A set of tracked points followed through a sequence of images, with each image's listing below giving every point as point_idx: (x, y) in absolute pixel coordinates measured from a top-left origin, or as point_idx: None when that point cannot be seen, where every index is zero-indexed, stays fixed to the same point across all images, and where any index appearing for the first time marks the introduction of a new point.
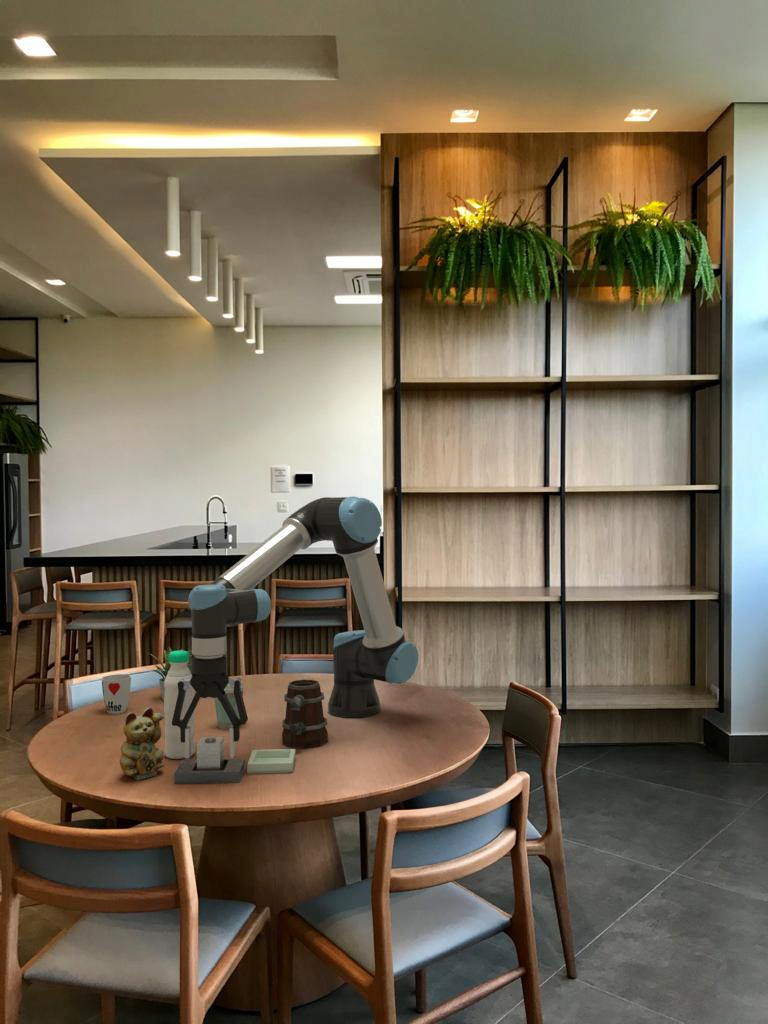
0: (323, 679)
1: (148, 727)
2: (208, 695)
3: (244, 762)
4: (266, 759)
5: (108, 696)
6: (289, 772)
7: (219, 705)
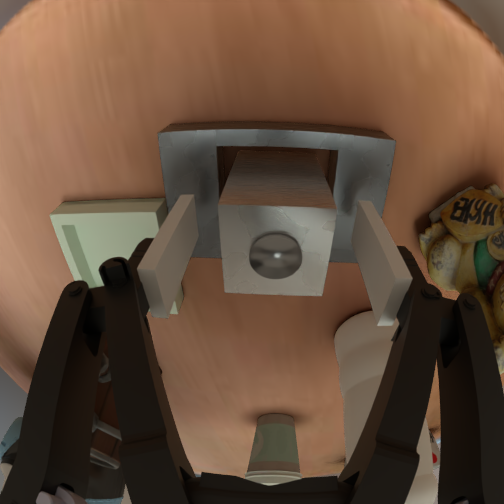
0: (192, 468)
1: None
2: (273, 498)
3: None
4: None
5: (434, 447)
6: (67, 202)
7: (289, 450)
